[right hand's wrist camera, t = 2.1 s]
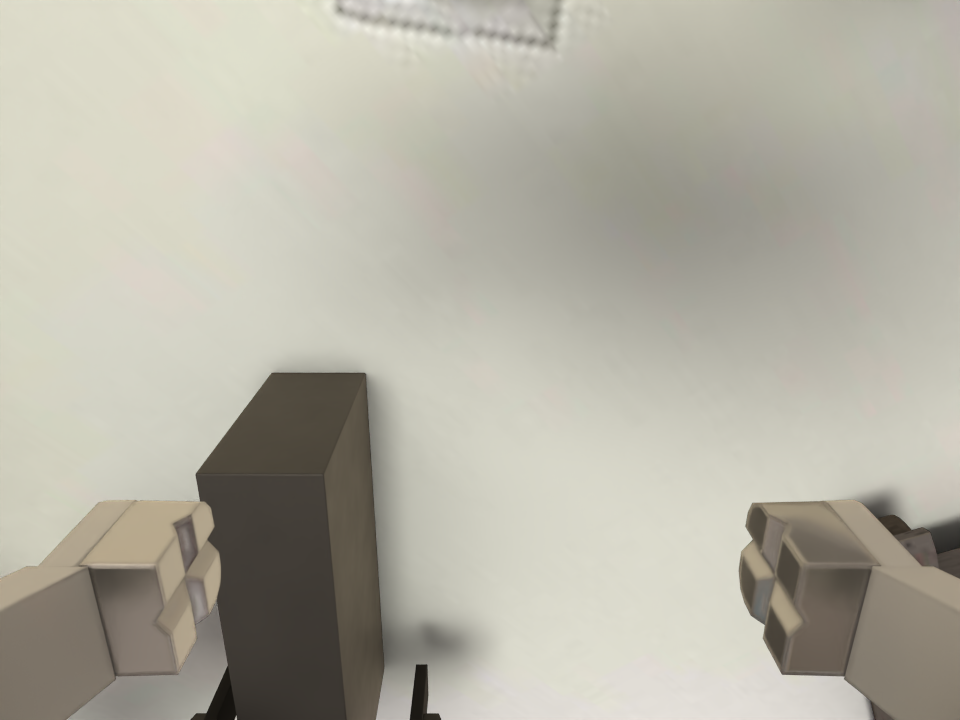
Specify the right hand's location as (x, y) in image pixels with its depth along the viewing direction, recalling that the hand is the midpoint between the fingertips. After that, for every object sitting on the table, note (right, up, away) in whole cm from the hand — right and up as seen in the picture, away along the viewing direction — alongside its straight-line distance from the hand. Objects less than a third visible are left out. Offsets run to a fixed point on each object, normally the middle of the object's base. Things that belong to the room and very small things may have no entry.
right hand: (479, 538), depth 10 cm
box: (-10, -10, +37) cm, 40 cm away
